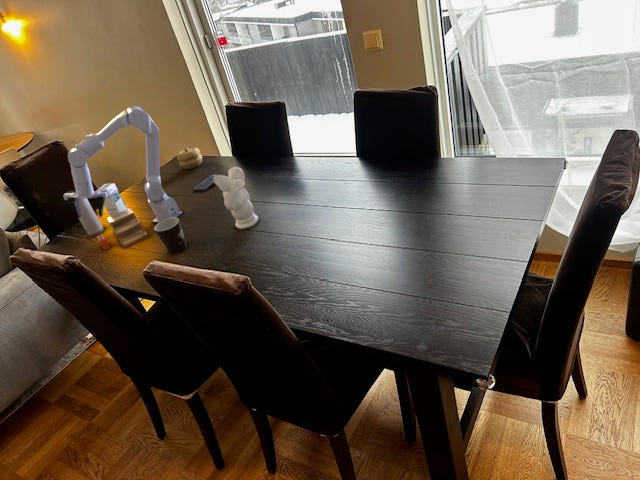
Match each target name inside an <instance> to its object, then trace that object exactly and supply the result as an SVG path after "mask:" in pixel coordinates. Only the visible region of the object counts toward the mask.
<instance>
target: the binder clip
mask: <svg viewBox="0 0 640 480" xmlns="http://www.w3.org/2000/svg"><path fill="white" fill-rule="evenodd" d="M96 239H97V240H98V243H99V244H100V247H101V248H102V249H103V251H106V250H108V249H110V248H111V246H110V244H109V242H108V240H107V239H106V237H105V235H104V234H100V236H99V235H97V238H96Z"/></svg>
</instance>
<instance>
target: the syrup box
mask: <svg viewBox="0 0 640 480" xmlns="http://www.w3.org/2000/svg"><path fill="white" fill-rule="evenodd" d="M95 191H100V192H107V195H108V197H107V198H106V199H105V202H104V206H103V207H104V208H105V210H106V212H107V213H108V215H109V217H110V216H113V215H115V214H117V213H119V212H122V211H124V210H126V209H129V208H128V206H127V204H126V203H125V200H124V199H123V197H122V194H121V193H120V191H119V189H118V187H117V185H116V184H115V182H109V183H105V184H103V185H102V186H101V187H99V188H98V189H97V190H95Z"/></svg>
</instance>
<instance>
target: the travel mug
mask: <svg viewBox="0 0 640 480" xmlns="http://www.w3.org/2000/svg"><path fill="white" fill-rule="evenodd" d="M74 192H76V189H72V190H68V191H67V192H65V193H74ZM78 200H79V208H80V211H81V217H80V218H78V220H79V221H80V223H81V225H82V226H83V228H84V230H85V232H86V234H87V235H88V236H89V237H95V236H99V235H101V233H102V232H104V229H105V228H104V226H103V225H102V222H101V221H100V219H99V217H98V216H97V214H96V212H95V211H94V209H93V207H92V205H91V203H90V201H89V200H88V198H87V199H78Z"/></svg>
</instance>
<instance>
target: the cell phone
mask: <svg viewBox="0 0 640 480" xmlns="http://www.w3.org/2000/svg"><path fill="white" fill-rule="evenodd" d="M214 175H215V174H211V175H210V176H209V177H207V178H206V179H204V180H203V181H201V182H200V183H199V184H197V185H196V186H194V188H193V190H194V191H207V190H208V189H210V188H212V186H214V185H216V184H215V182H213V180H214V179H213V177H214ZM217 175H218V176H220V175H221V174H217Z"/></svg>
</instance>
